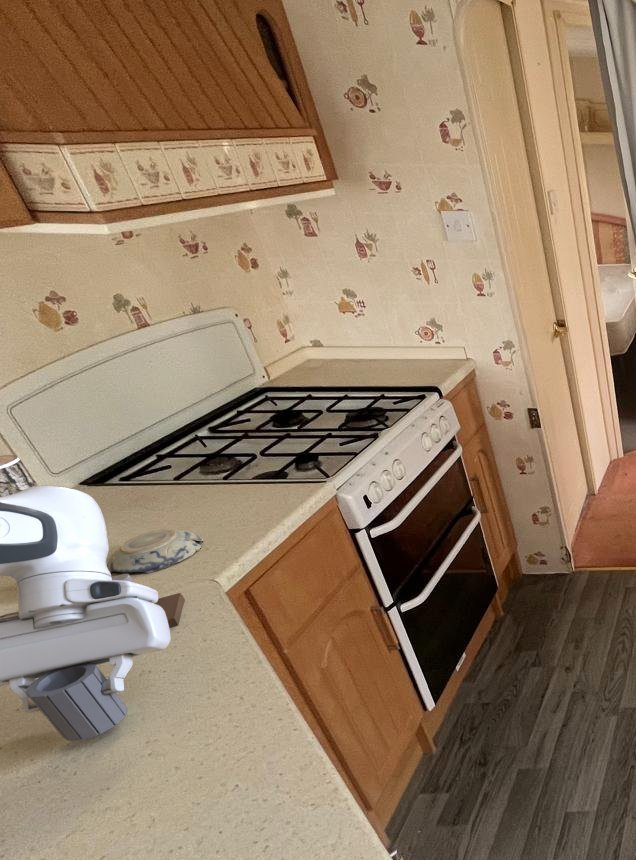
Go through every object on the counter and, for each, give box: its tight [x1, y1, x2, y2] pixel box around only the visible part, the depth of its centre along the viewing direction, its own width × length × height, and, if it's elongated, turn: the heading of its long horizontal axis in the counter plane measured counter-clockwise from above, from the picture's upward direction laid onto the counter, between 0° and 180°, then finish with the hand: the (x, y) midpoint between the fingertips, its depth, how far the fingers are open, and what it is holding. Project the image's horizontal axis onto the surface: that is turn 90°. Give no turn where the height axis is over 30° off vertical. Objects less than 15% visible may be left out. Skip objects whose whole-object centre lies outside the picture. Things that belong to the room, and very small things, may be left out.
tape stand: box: [112, 573, 186, 629], centre depth 112 cm, size 9×9×9 cm
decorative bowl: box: [106, 528, 204, 574], centre depth 132 cm, size 15×4×15 cm
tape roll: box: [26, 662, 129, 742], centre depth 90 cm, size 7×7×8 cm
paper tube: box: [0, 454, 39, 497], centre depth 118 cm, size 7×7×25 cm
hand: (75, 701), depth 89 cm, fingers closed on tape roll, 7 cm apart
